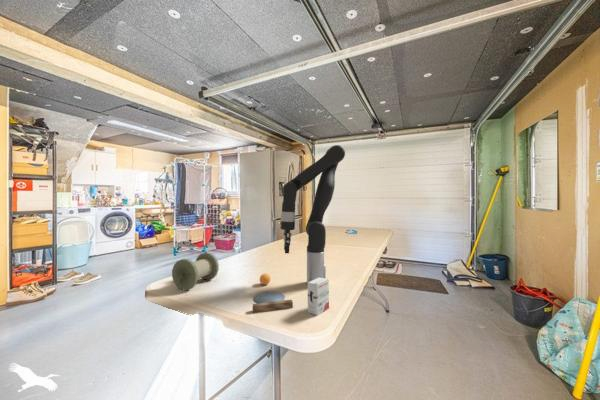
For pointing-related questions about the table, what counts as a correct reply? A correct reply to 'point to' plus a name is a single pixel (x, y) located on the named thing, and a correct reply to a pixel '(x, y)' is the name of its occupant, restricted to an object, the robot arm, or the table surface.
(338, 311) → the table surface
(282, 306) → the brown square bar
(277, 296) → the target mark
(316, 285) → the ink box
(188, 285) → the spool
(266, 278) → the ball
